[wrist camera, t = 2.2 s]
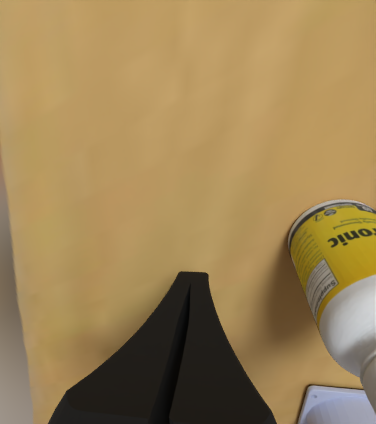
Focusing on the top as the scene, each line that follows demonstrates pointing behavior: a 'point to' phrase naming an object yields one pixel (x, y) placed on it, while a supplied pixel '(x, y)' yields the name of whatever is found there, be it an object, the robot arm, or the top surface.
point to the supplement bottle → (341, 282)
